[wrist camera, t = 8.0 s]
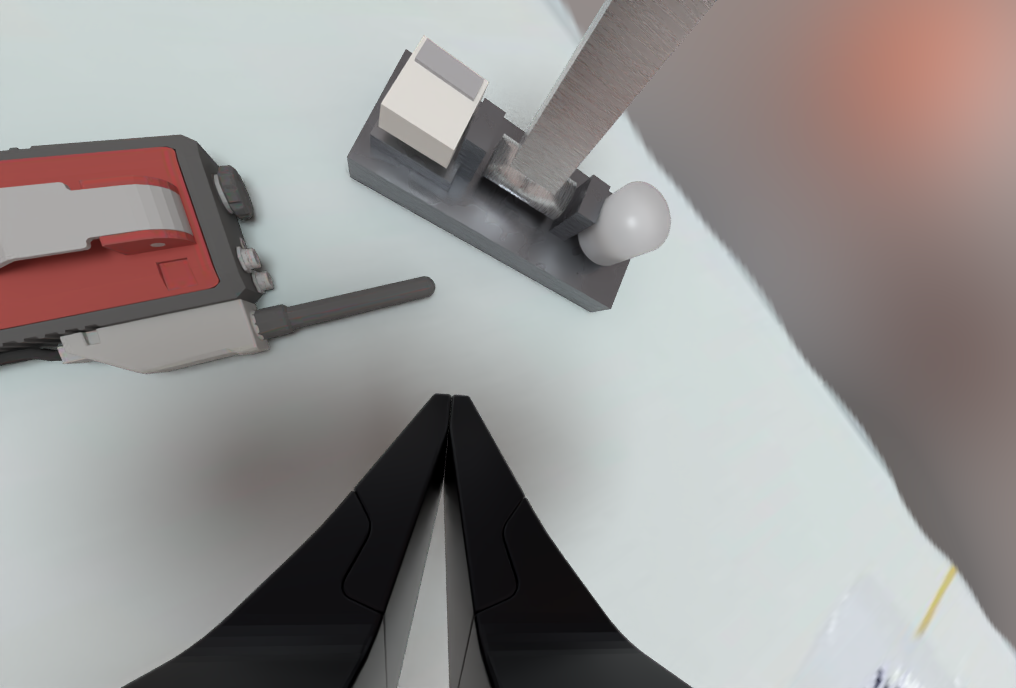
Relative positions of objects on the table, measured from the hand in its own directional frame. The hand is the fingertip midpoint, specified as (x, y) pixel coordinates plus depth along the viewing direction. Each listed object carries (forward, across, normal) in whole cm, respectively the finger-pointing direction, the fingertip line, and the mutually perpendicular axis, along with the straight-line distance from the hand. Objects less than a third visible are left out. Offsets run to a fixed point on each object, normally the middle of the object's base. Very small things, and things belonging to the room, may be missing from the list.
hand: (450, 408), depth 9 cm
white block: (+11, +2, -6) cm, 13 cm away
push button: (+13, -7, -2) cm, 15 cm away
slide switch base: (+15, -2, -2) cm, 15 cm away
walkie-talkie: (+10, +12, +1) cm, 15 cm away
